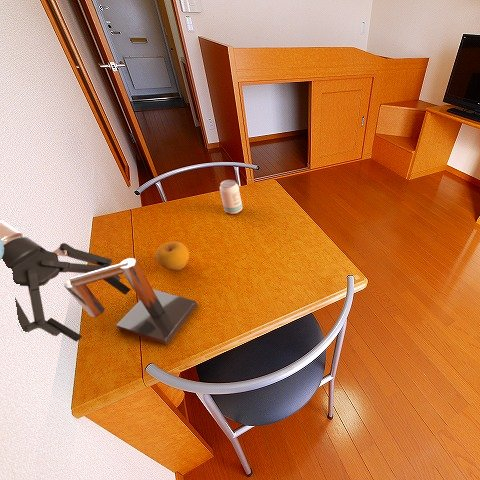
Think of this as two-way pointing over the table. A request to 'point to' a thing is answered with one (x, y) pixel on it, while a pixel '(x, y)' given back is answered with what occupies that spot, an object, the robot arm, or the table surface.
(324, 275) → the table surface
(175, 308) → the tap base
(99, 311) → the spout
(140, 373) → the table surface
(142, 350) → the table surface
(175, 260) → the apple
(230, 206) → the beverage can
